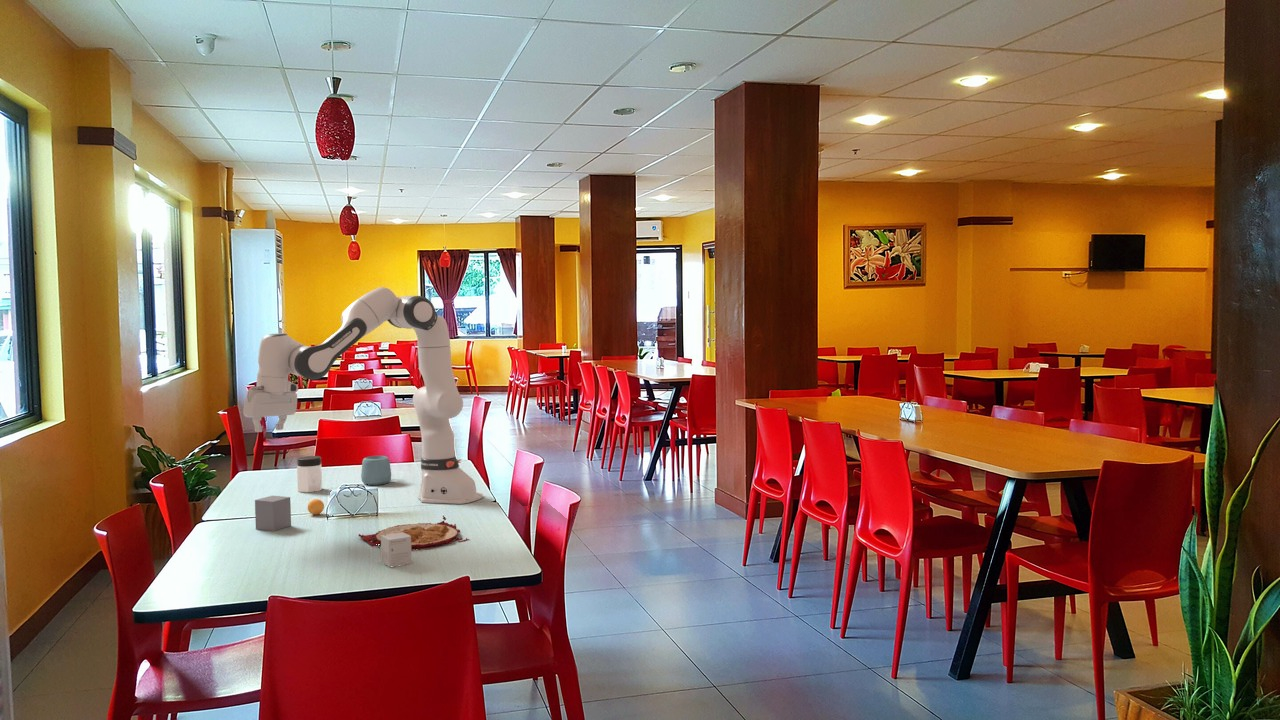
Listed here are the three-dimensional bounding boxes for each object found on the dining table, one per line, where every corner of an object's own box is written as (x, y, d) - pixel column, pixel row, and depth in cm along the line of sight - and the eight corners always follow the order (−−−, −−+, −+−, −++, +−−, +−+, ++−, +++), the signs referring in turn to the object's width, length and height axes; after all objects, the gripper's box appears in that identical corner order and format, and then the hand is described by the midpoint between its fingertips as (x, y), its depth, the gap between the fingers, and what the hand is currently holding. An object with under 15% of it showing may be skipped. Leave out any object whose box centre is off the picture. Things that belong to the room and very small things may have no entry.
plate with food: (358, 541, 255) (357, 529, 255) (444, 525, 271) (443, 513, 270) (389, 561, 235) (388, 548, 235) (480, 543, 251) (479, 530, 250)
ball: (327, 513, 286) (327, 498, 286) (316, 516, 281) (316, 501, 281) (315, 512, 288) (315, 497, 288) (304, 515, 283) (303, 500, 283)
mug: (372, 478, 346) (371, 453, 345) (399, 478, 345) (399, 453, 344) (356, 486, 331) (355, 459, 330) (384, 486, 330) (384, 459, 329)
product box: (389, 568, 225) (388, 539, 224) (380, 562, 230) (380, 534, 229) (412, 564, 228) (411, 536, 228) (403, 558, 233) (402, 531, 233)
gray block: (291, 525, 270) (290, 497, 269) (273, 531, 263) (272, 501, 263) (273, 523, 272) (272, 495, 272) (255, 529, 266) (254, 500, 265)
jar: (302, 493, 318) (301, 460, 317) (293, 490, 323) (292, 457, 323) (326, 490, 324) (325, 457, 323) (317, 486, 330) (316, 454, 329)
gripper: (257, 387, 261) (254, 434, 261) (301, 386, 280) (298, 429, 280) (239, 385, 262) (236, 432, 263) (284, 384, 282) (282, 427, 282)
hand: (269, 430), depth 272 cm, fingers open, 8 cm apart
